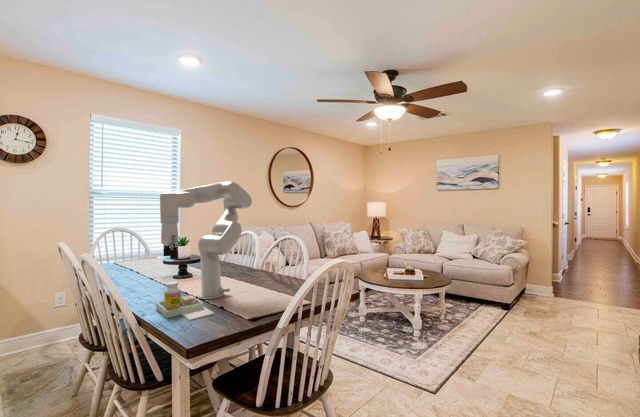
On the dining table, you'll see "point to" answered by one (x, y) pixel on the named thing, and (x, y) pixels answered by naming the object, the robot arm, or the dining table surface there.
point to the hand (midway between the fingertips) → (170, 257)
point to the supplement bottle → (172, 296)
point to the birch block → (188, 301)
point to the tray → (178, 311)
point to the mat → (197, 314)
